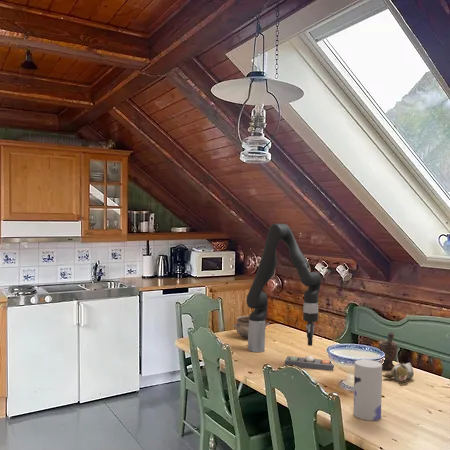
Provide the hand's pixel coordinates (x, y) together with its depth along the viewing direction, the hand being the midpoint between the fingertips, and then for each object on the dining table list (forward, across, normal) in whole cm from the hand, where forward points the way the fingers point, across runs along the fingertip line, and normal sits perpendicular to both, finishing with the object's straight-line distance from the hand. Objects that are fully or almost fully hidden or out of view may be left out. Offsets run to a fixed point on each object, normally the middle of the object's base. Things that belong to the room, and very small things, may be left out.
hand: (310, 345), depth 240 cm
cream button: (+9, 0, 0) cm, 9 cm away
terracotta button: (+10, 0, +8) cm, 13 cm away
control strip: (+10, 0, 0) cm, 10 cm away
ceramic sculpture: (+11, +8, +43) cm, 45 cm away
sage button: (+10, 0, -8) cm, 13 cm away
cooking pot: (+10, -46, -42) cm, 63 cm away
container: (+11, +56, +28) cm, 63 cm away
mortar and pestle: (+11, -8, +39) cm, 41 cm away
